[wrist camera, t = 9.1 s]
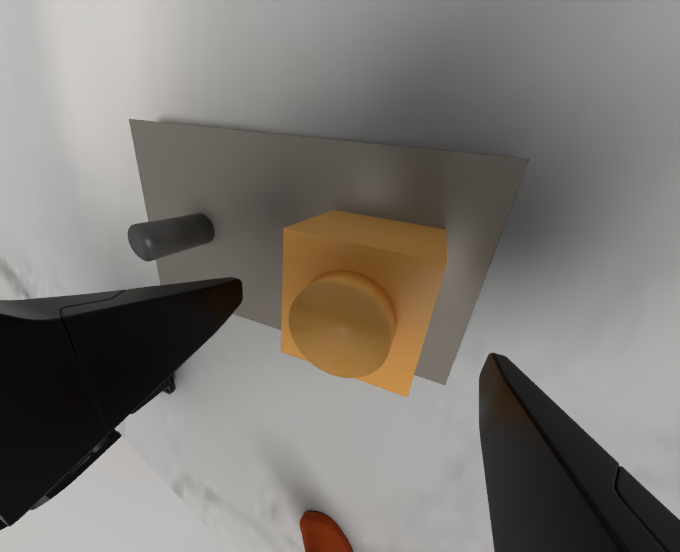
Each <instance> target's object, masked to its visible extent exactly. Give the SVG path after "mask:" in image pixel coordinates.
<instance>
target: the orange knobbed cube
mask: <svg viewBox="0 0 680 552" xmlns="http://www.w3.org/2000/svg"><path fill="white" fill-rule="evenodd" d="M446 265H447V242H446V230H445V229H439V228H434V227H428V226H423V225H417V224H411V223H406V222H400V221H395V220H389V219H383V218H378V217H372V216H366V215H361V214H355V213H350V212H344V211H338V210H332V211H330V212H327V213H324V214H321V215H319V216H316V217H313V218H310V219H307V220H305V221H302V222H299V223H296V224H294V225H291V226H288V227H285V228H283V277H282V329H281V352H283V353H286V354H289V355H292V356H295V357H297V358H300V359H303V360H306V361H308V362H311V363H312V364H313V365H315V366H316V367H318V368H319V369H321V370H323V371H325V372H327V373H329V374H332V375H335V376H339V377H344V378H355V379H358V380H361V381H364V382H366V383H369V384H372V385H375V386H378V387H380V388H383V389H386V390H389V391H391V392H394V393H397V394H400V395H402V396H405V397H408V393H409V390H410V387H411V383H412V380H413V376H414V373H415V370H416V366H417V363H418V360H419V356H420V353H421V350H422V346H423V343H424V339H425V336H426V333H427V329H428V326H429V323H430V319H431V316H432V312H433V309H434V306H435V302H436V299H437V296H438V292H439V289H440V285H441V282H442V279H443V275H444V272H445V269H446Z"/></svg>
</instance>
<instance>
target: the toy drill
mask: <svg viewBox="0 0 680 552" xmlns="http://www.w3.org/2000/svg"><path fill="white" fill-rule="evenodd" d="M300 529H301V533H302V538H303V542H304V547H305V552H352V549H351V547H350V544H349V542H348V541H347V539H346V537H345V535H344V534H343V532H342V531H341V529H340V528H339V527H338V526H337V525H336V523H335V522H334V521H333V520H332V519H330V518H329V517H327V516H326V515H324V514H321V513H318V512H313V511H309V512H306V513H304V515H303V516H302V518H301V520H300Z"/></svg>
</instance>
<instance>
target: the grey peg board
mask: <svg viewBox="0 0 680 552" xmlns="http://www.w3.org/2000/svg"><path fill="white" fill-rule="evenodd" d="M129 122H130V127H131V133H132V138H133V143H134V148H135V153H136V159H137V164H138V169H139V174H140V179H141V185H142V190H143V195H144V200H145V205H146V211H147V216H148V221H149V222H145V223H139V224H134V225H131V226H130V228H129V230H128V240H129V243H130V245H131V247H132V249H133V251H134V252H135V253H136V255H137V256H138V257H140V258H141V259H143V260H145V261H152V260H155V259H156V262H157V268H158V273H159V278H160V283H161V285H168V284H176V283H184V282H193V281H201V280H209V279H217V278H226V277H234V278H237V279H240V280H241V281H242V288H243V300H242V303H241V304H240V306H239V307H238V308H237V309H236V310H235V311H234V312H233V314H235V315H238V316H241V317H244V318H247V319H250V320H253V321H256V322H259V323H262V324H265V325H268V326H271V327H274V328H277V329H280V330H281V329H282V277H283V228H285V227H288V226H291V225H294V224H296V223H299V222H302V221H305V220H307V219H310V218H313V217H316V216H319V215H321V214H324V213H327V212H330V211H332V210H338V211H344V212H350V213H355V214H361V215H366V216H372V217H378V218H383V219H389V220H395V221H400V222H406V223H411V224H417V225H423V226H428V227H434V228H439V229H445V230H446V242H447V265H446V269H445V272H444V275H443V279H442V282H441V285H440V289H439V292H438V296H437V299H436V302H435V306H434V309H433V312H432V316H431V319H430V323H429V326H428V329H427V333H426V336H425V339H424V343H423V346H422V350H421V353H420V356H419V360H418V363H417V366H416V370H415V373H414V375H416V376H419V377H422V378H425V379H428V380H431V381H434V382H437V383H440V384H443V385H445V384H446V381H447V379H448V376H449V373H450V371H451V368H452V365H453V363H454V360H455V357H456V354H457V352H458V349H459V346H460V344H461V341H462V338H463V336H464V333H465V330H466V328H467V325H468V322H469V320H470V317H471V314H472V311H473V309H474V306H475V303H476V301H477V298H478V295H479V293H480V290H481V287H482V285H483V282H484V279H485V277H486V274H487V271H488V268H489V266H490V263H491V260H492V258H493V255H494V252H495V250H496V247H497V244H498V242H499V239H500V236H501V234H502V231H503V228H504V225H505V223H506V220H507V217H508V215H509V212H510V209H511V207H512V204H513V201H514V199H515V196H516V193H517V191H518V188H519V185H520V182H521V180H522V177H523V174H524V172H525V169H526V166H527V164H528V161H529V159H523V158H513V157H503V156H493V155H483V154H473V153H463V152H453V151H443V150H433V149H423V148H413V147H403V146H394V145H384V144H374V143H364V142H354V141H344V140H334V139H324V138H314V137H304V136H294V135H284V134H274V133H264V132H254V131H244V130H234V129H224V128H214V127H204V126H194V125H184V124H174V123H164V122H154V121H144V120H134V119H129Z"/></svg>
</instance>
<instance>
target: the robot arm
mask: <svg viewBox="0 0 680 552" xmlns="http://www.w3.org/2000/svg"><path fill="white" fill-rule="evenodd" d="M242 300H243V288H242V281H241V280H240V279H237V278H234V277H226V278H217V279H209V280H201V281H193V282H184V283H176V284H168V285H160V286H151V287H143V288H135V289H128V290H118V291H109V292H101V293H92V294H81V295H71V296H60V297H48V298H37V299H26V300H0V530H1V529H4V528H5V527H7V526H11V525H13V524H14V523H15V522H16V521H18V520H19V519H20V518H21V517H22V516H23V515H24V514H25V513H26V512H28V510H33V509H35V508H37V507H39V506H40V505H43V504H44V503H45V502H47V501H48V500H50V499H51V498H53V497H54V496H55V495H57V494H58V493H59V492H60V491H62V490H63V489H65V488H66V487H67V486H68V485H69V484H70V483H72V482H73V481H74V480H75V479H76V478H77V477H78V476H79V475H81V474H82V473H83V472H84V471H85V470H86V469H87V468H88V467H89V466H90V465H91V464H92V463H93V462H94V461H95V460H96V459H98V458H99V457H100V456H101V455H102V454H103V453H104V452H105V451H106V450H107V449H108V448H109V447H110V446H111V445H113V444H114V443H115V442H116V441H117V440H118V439H119V438H120V437H121V436H122V435H121V434H120V433H119V432H118V431H116V430H115V428H116V427H117V426H118V425H119V424H120V423H121V422H122V421H123V420H124V419H125V418H126V417H127V416H128V415H129V414H133V413H135V412H136V411H138V410H139V409H140V408H141V407H143V406H144V405H145V404H147V403H148V402H149V401H150V400H152V399H153V398H154V397H155V396H157V395H158V394H159V393H161V392H162V391H163V392H165V393H168V394H171V393H172V392H174V387H173V382H172V377H171V375H172V374H173V373H174V372H175V371H176V370H177V369H178V368H179V367H180V366H181V365H182V364H183V363H184V362H185V361H186V360H187V359H188V358H189V357H190V356H192V355H193V354H194V353H195V352H196V351H197V350H198V349H199V348H200V347H201V346H202V345H203V344H204V343H205V342H206V341H207V340H208V339H209V338H211V337H212V336H213V335H214V334H215V333H216V332H217V331H218V329H219V328H220V327H221V326H222V325H223V324H224V323H225V322H226V320H227V319H228V318H229V317H230V316H231V315H232V314H233V312H234V311H235V310H236V309H237V308H238V307H239V306H240V304H241V303H242ZM479 430H480V439H481V447H482V455H483V463H484V471H485V479H486V487H487V495H488V503H489V511H490V519H491V527H492V535H493V542H494V550H495V552H680V520H679V519H678V518H677V517H676V516H675V515H674V514H673V513H671V512H670V511H669V510H668V509H667V508H666V507H665V506H664V505H663V504H662V503H661V502H660V501H658V500H657V499H656V498H655V497H654V496H653V495H652V494H651V493H650V492H649V491H648V490H647V489H645V488H644V487H643V486H642V485H641V484H640V483H639V482H638V481H637V480H636V479H635V478H634V477H633V476H632V475H631V474H630V473H629V472H628V471H626V470H625V469H624V468H623V467H621V466H619V463H618V462H617V461H616V460H615V459H614V458H613V457H612V456H611V455H609V454H608V453H607V452H606V451H605V450H604V449H603V448H602V447H601V446H600V445H599V444H598V443H597V442H596V441H595V440H594V439H593V438H592V437H590V436H589V435H588V434H587V433H586V432H585V431H584V430H583V429H582V428H581V427H580V426H579V425H578V424H577V423H576V422H575V421H574V420H573V419H571V418H570V417H569V416H568V415H567V414H566V413H565V412H564V411H563V410H562V409H561V408H560V407H559V406H558V405H557V404H556V403H555V402H554V401H552V400H551V399H550V398H549V397H548V396H547V395H546V394H545V393H544V392H543V391H542V390H541V389H540V388H539V387H538V386H537V385H536V384H535V383H533V382H532V381H531V380H530V379H529V378H528V377H527V376H526V375H525V374H524V373H523V372H522V371H521V370H520V369H519V368H518V367H517V366H516V365H514V364H513V363H512V362H511V361H510V360H509V359H508V358H507V357H506V356H503V355H499V354H496V353H490V354H489V355H488V357H487V359H486V362H485V364H484V366H483V369H482V371H481V373H480V377H479Z"/></svg>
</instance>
